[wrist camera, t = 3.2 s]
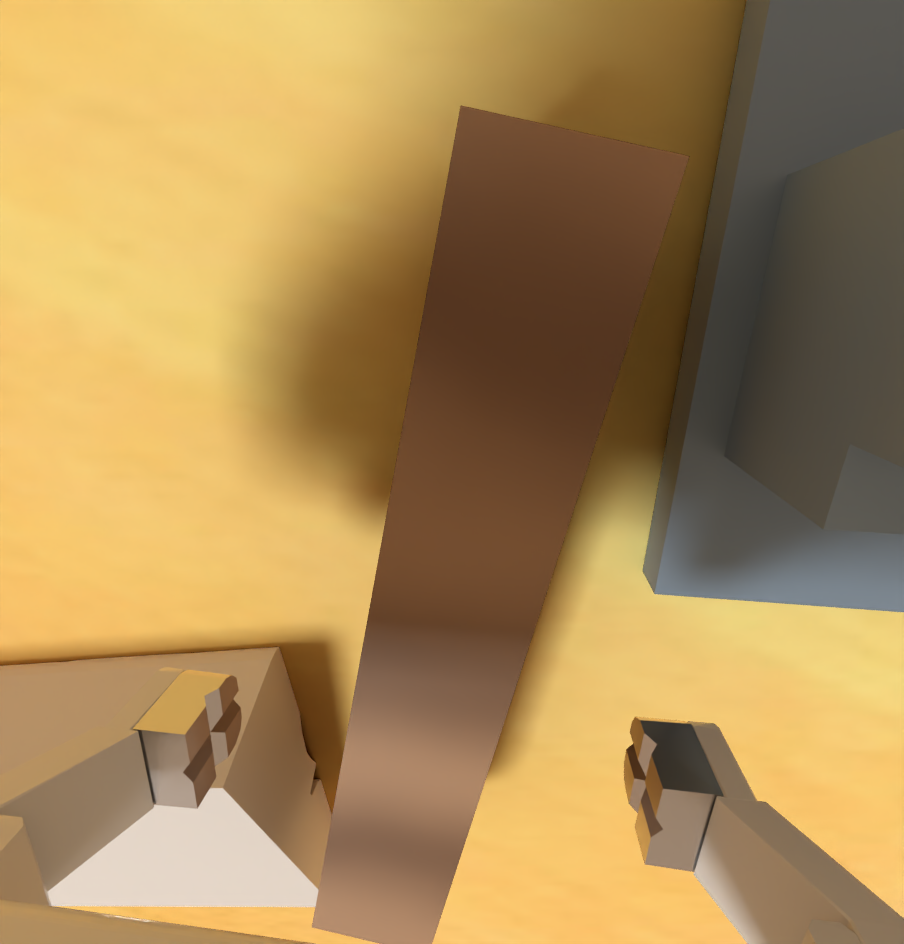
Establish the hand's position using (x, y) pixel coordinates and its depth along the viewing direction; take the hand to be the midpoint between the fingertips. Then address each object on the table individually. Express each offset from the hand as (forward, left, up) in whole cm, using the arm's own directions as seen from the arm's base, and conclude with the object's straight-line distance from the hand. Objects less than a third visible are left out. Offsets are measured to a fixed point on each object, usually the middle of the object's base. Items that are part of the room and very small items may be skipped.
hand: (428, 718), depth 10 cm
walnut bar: (-1, 0, -6) cm, 6 cm away
